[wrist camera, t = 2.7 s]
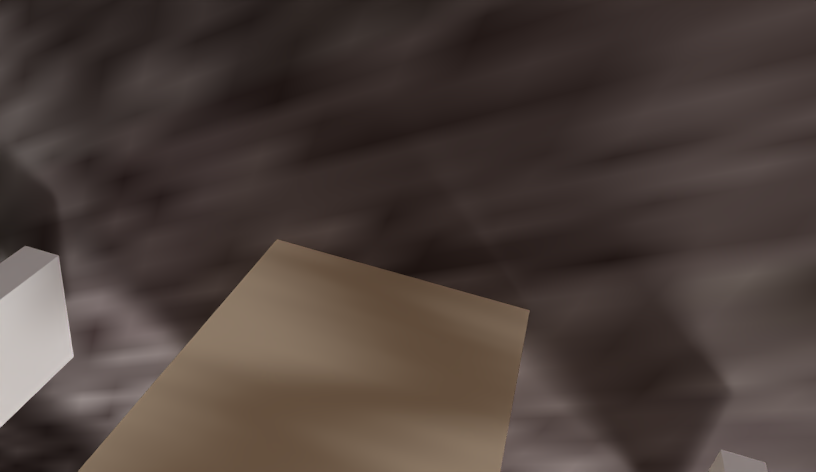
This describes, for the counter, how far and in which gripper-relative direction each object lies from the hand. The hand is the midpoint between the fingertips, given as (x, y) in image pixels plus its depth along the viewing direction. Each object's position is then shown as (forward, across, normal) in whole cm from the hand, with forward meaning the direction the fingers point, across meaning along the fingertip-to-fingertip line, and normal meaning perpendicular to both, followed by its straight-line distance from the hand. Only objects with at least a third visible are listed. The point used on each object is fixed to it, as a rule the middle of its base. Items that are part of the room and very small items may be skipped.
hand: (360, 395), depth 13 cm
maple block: (+1, 0, 0) cm, 1 cm away
